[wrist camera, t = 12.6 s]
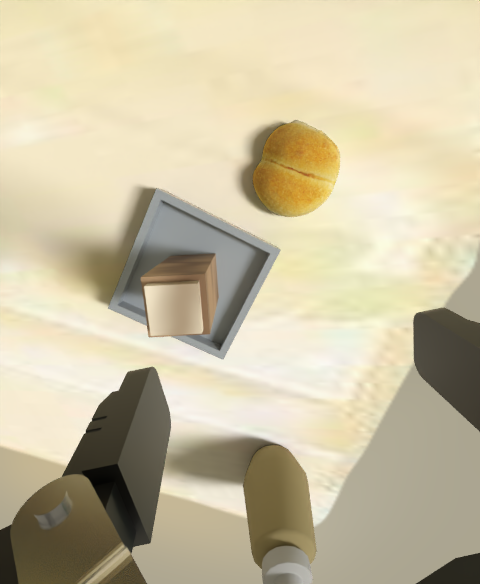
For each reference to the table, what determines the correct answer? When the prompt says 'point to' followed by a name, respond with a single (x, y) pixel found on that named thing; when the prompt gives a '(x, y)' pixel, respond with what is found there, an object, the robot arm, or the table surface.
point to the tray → (190, 241)
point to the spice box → (181, 295)
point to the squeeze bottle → (279, 516)
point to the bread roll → (296, 170)
